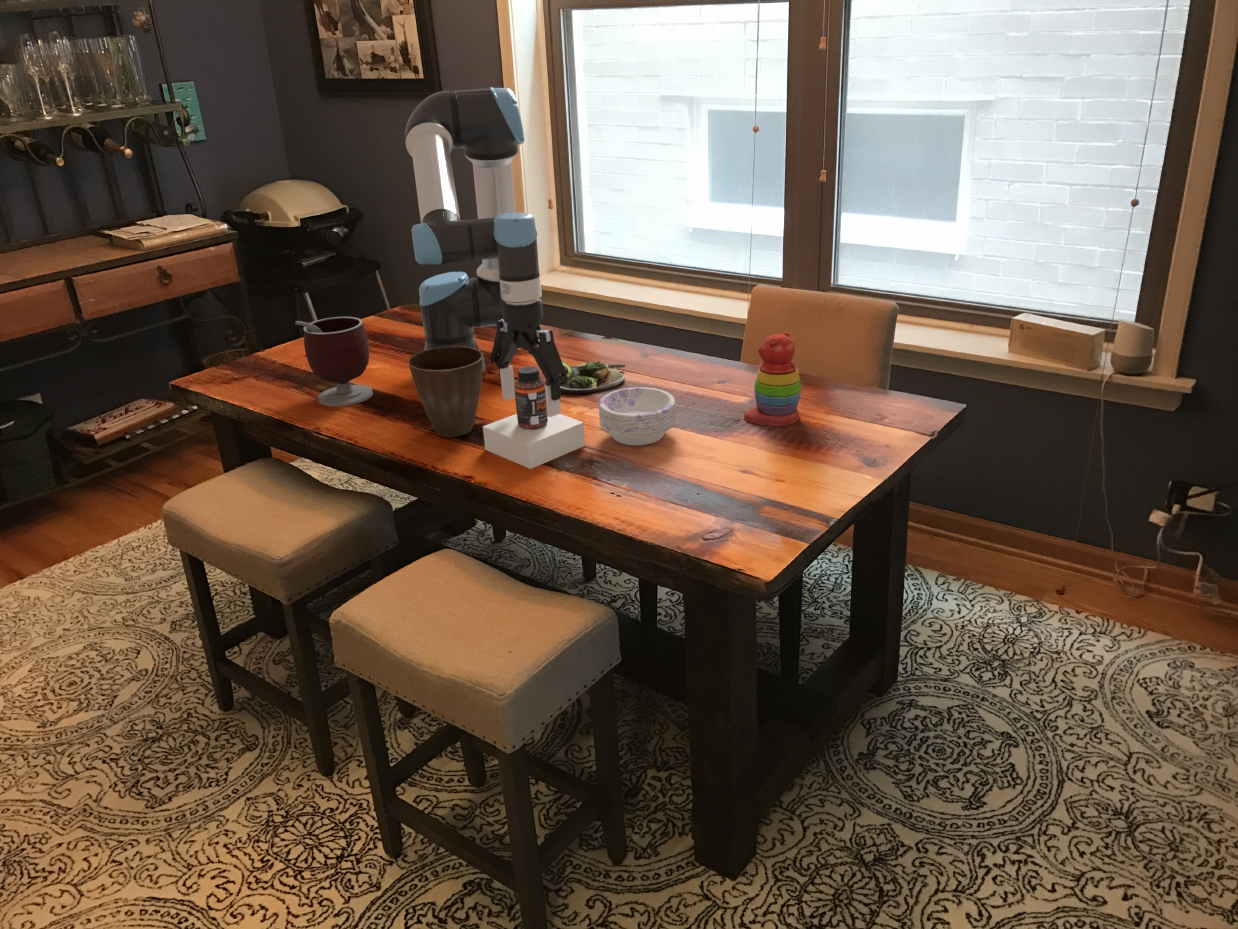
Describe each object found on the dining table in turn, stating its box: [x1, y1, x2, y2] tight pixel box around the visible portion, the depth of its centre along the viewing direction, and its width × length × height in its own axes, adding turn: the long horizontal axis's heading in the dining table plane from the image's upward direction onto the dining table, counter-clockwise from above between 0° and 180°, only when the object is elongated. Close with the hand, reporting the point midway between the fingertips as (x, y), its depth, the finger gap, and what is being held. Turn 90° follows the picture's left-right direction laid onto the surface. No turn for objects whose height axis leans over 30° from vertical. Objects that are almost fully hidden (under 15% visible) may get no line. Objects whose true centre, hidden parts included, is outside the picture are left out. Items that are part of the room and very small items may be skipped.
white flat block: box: [482, 413, 586, 470], centre depth 194 cm, size 14×14×5 cm
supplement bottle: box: [514, 366, 548, 429], centre depth 190 cm, size 6×6×11 cm
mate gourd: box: [294, 316, 374, 407], centre depth 222 cm, size 16×14×20 cm
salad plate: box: [551, 360, 626, 396], centre depth 229 cm, size 19×18×5 cm
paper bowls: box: [598, 386, 677, 447], centre depth 196 cm, size 15×15×8 cm
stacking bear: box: [743, 331, 802, 427], centre depth 199 cm, size 11×10×18 cm
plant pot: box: [407, 346, 484, 438], centre depth 202 cm, size 15×15×16 cm
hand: (531, 406), depth 191 cm, fingers open, 13 cm apart
